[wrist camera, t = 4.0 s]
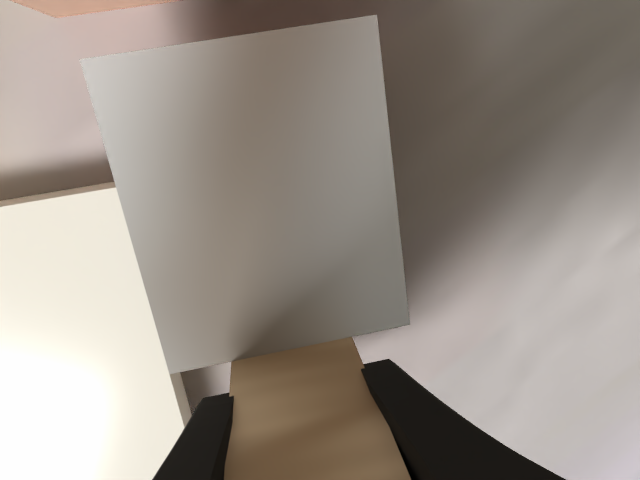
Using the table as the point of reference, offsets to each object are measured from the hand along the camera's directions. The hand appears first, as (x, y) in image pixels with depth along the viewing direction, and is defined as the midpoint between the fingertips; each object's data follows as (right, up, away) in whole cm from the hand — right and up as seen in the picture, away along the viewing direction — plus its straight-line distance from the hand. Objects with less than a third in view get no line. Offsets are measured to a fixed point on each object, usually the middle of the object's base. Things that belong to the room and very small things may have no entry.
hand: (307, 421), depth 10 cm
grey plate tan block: (-1, +3, +1) cm, 3 cm away
